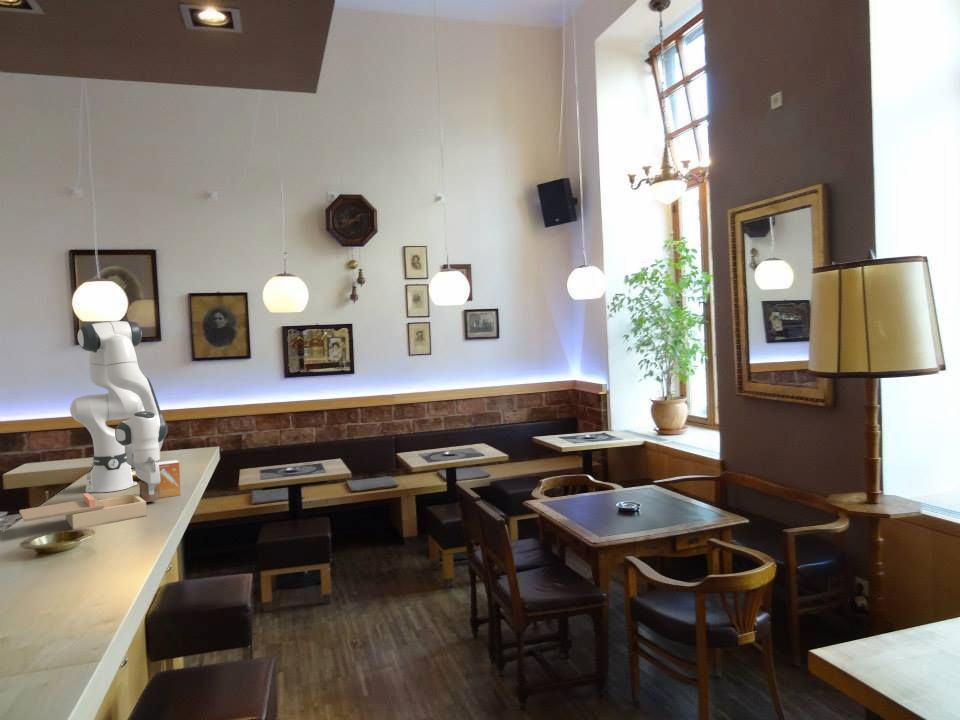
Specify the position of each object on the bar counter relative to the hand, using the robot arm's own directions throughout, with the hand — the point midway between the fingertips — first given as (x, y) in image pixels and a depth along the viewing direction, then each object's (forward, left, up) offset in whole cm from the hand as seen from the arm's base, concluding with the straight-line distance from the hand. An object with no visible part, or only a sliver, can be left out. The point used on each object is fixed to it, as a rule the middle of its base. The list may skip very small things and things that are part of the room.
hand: (148, 492), depth 251 cm
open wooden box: (+11, -16, -4) cm, 20 cm away
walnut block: (0, 0, -3) cm, 3 cm away
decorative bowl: (-83, +13, -4) cm, 84 cm away
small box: (-8, +9, -4) cm, 12 cm away
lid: (+11, -29, +2) cm, 31 cm away
